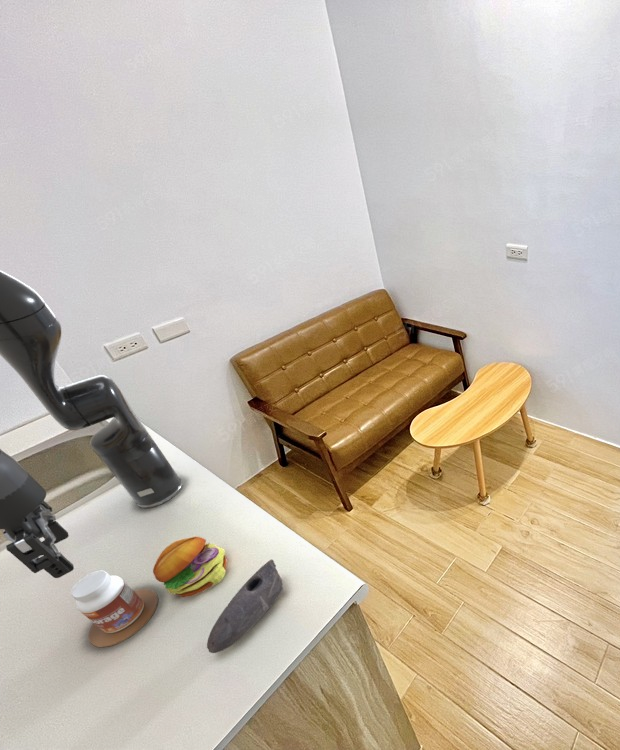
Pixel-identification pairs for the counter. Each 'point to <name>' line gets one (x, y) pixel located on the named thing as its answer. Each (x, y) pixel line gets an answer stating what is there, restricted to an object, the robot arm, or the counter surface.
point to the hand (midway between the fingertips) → (63, 555)
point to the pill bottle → (107, 601)
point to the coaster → (110, 639)
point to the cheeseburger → (190, 566)
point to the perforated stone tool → (246, 608)
